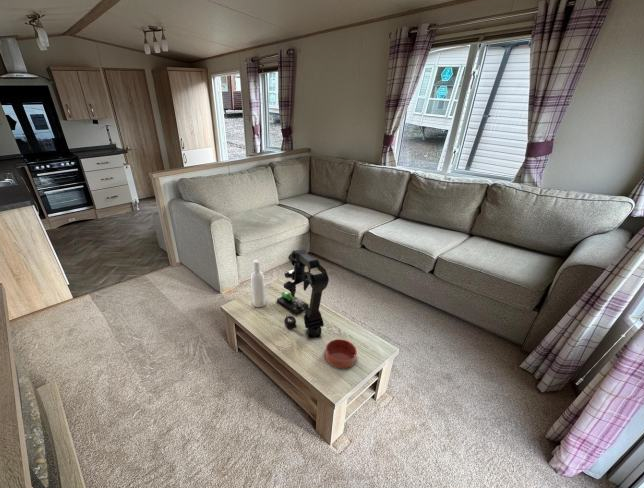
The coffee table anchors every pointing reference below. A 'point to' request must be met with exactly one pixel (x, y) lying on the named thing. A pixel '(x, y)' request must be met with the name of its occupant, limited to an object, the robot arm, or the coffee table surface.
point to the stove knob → (298, 303)
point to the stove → (292, 305)
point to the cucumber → (287, 296)
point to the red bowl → (341, 353)
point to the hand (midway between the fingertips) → (298, 293)
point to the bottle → (258, 285)
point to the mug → (290, 322)
